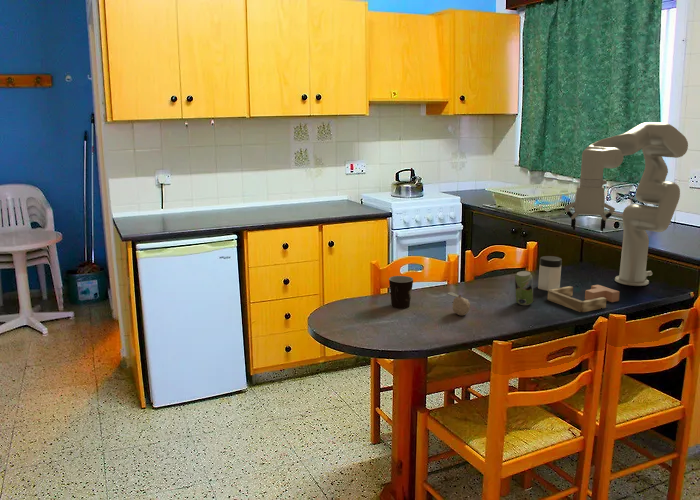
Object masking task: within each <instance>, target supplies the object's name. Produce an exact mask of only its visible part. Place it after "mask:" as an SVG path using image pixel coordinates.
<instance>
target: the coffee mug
mask: <svg viewBox="0 0 700 500" xmlns="http://www.w3.org/2000/svg"><path fill="white" fill-rule="evenodd" d="M388 283H389V293H390V304H391V307H392V308H393V309H397V310H398V309H399V310H402V309H403V310H404V309H408V308H409V307H410V304H411V299H412V298H411V297H412V292H413V284H414V278H413V277H411V276H407V275H394V276H390V277H389V278H388Z"/></svg>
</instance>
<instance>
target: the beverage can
mask: <svg viewBox="0 0 700 500" xmlns="http://www.w3.org/2000/svg"><path fill="white" fill-rule="evenodd" d="M514 280H515V281H514V282H515V283H514V284H515V301H516V303H517V304H519V305H521V306H529V305H531V304H533V302H534V285H533V283H534V282H533V275H532V274H531V272H530V271H528V270H520V271H518V272H516V275H515V276H514Z"/></svg>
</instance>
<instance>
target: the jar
mask: <svg viewBox="0 0 700 500" xmlns="http://www.w3.org/2000/svg"><path fill="white" fill-rule="evenodd" d="M562 260H563V259H562V258H561V257H559V256H553V255H545V256H540V258H539V270H538V271H539V272H538V281H537V283H538V284H537V288H538V289H539V290H542V291H547V292H548V290H550V289H556V288H561V277H562V276H561V274H562V264H563V261H562Z"/></svg>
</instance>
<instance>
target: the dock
mask: <svg viewBox="0 0 700 500" xmlns="http://www.w3.org/2000/svg"><path fill="white" fill-rule="evenodd" d="M573 293H574V286H571V285H569V286H563V287H560V288H556V289H550V290H548V291H547V298H546V299H547V300H546V301H550V302H551V303H555V304H557V305H560V306H563V307H566V308H568V309H570V310H571V309H572V310H573V311H576V312H579V313H586V312H591V311H595V310H602V309H606V308H607V298H604V297H601V298H596V299H590V300H585V299H584V300H581V299H578V298H575V297H573ZM601 308H602V309H601Z"/></svg>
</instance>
